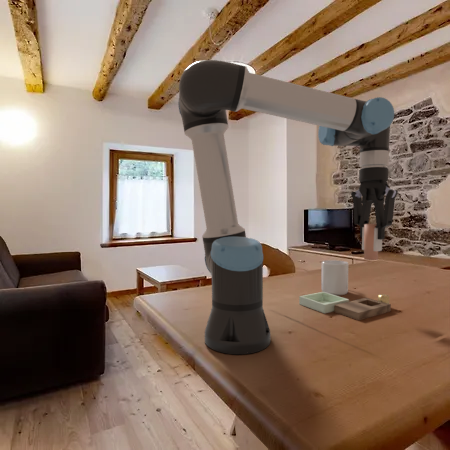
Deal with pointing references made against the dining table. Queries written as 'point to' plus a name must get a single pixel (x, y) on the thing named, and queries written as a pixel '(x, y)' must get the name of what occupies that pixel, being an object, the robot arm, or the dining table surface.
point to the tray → (321, 301)
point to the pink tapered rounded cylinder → (369, 242)
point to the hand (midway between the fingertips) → (371, 249)
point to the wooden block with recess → (362, 308)
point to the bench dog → (383, 298)
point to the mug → (334, 277)
